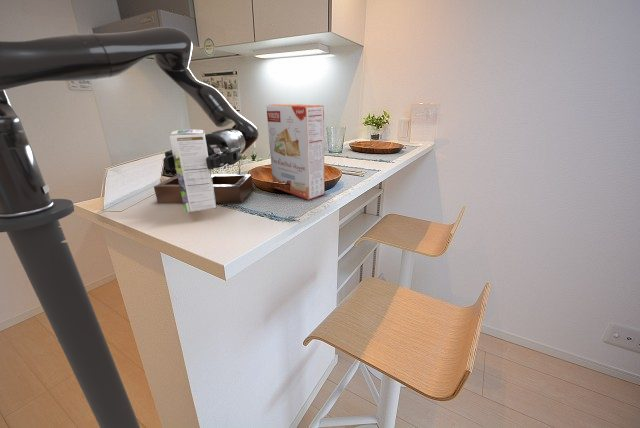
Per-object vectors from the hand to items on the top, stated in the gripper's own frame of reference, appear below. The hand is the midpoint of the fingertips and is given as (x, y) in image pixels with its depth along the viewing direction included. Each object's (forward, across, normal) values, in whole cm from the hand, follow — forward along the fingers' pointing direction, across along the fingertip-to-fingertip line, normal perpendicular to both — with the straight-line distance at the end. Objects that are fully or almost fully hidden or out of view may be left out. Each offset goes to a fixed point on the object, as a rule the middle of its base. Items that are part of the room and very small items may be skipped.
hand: (187, 164), depth 51 cm
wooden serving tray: (-16, -5, +12) cm, 20 cm away
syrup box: (-2, 0, +9) cm, 9 cm away
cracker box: (-19, +17, +12) cm, 28 cm away
